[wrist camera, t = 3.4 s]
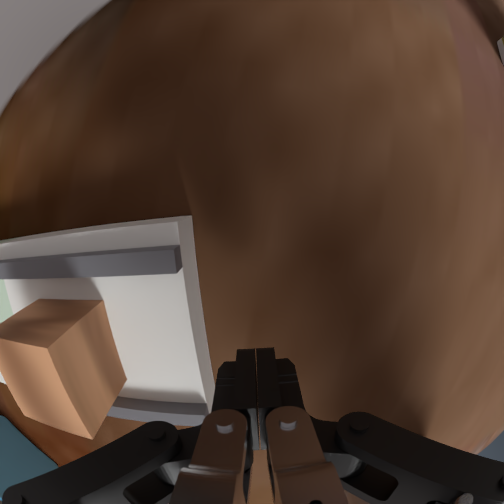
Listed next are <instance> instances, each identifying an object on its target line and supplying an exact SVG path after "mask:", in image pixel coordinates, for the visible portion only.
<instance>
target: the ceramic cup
mask: <svg viewBox="0 0 504 504" xmlns="http://www.w3.org/2000/svg"><path fill="white" fill-rule="evenodd" d="M497 45H498V49H499V52H500V56H501V60H502V63H503V65H504V36H503V37H502V38H501V39H500V40H498V42H497Z"/></svg>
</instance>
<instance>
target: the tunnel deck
mask: <svg viewBox="0 0 504 504" xmlns="http://www.w3.org/2000/svg"><path fill="white" fill-rule="evenodd" d="M38 299H68V300H104V304H105V308H106V312H107V316H108V320H109V324H110V327H111V331H112V334H113V338H114V341H115V345H116V348H117V351H118V354H119V357H120V360H121V363H122V366H123V369H124V372H125V375H126V378H127V381H126V382H125V384H124V386H123V388H122V389H121V391H120V393H119V394H118V396H117V398H116V399H115V401H114V403H113V405H112V406H111V408H110V410H109V412H108V413H107V416H112V417H117V418H123V419H129V420H136V421H143V422H151V421H165V422H168V423H171V424H172V425H183V426H198V425H200V424H202V423H203V420H204V418H205V417H206V416H207V415H208V414H210V413H211V409H212V403H213V397H214V391H215V384H214V378H213V372H212V367H211V361H210V355H209V349H208V343H207V336H206V330H205V323H204V316H203V309H202V302H201V294H200V286H199V278H198V270H197V261H196V252H195V243H194V233H193V223H192V215H190V216H179V217H168V218H158V219H149V220H139V221H131V222H122V223H114V224H105V225H98V226H90V227H83V228H75V229H68V230H62V231H55V232H48V233H42V234H36V235H30V236H24V237H18V238H12V239H7V240H1V241H0V323H2V322H3V321H5V320H6V319H8V318H9V317H11V316H12V315H14V314H15V313H17V312H19V311H20V310H22V309H23V308H25V307H26V306H28V305H30V304H31V303H33V302H35V301H36V300H38ZM0 382H2V383H4V384H6V382H5V380H4V378H3V376H2V374H1V372H0Z"/></svg>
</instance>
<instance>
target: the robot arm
mask: <svg viewBox="0 0 504 504" xmlns="http://www.w3.org/2000/svg"><path fill="white" fill-rule="evenodd" d="M256 356H257V374H256V359H255V349H237V355H236V361H230V362H224V363H223V364H222V365H221V367H220V368H219V369H218V374H217V379H216V386H215V391H214V397H213V403H212V409H211V413H210V414H208V415H207V416H206V417H205V418H204V420H203V423H202V424H200V425H198V426H195V427H192V428H186V429H181V430H177V429H176V427H175V426H174V425H172V424H171V423H168V422H165V421H151V422H148V423H146V424H144V425H142V426H140V427H138V428H137V429H135V430H133V431H131V432H130V433H128V434H126V435H124V436H122V437H120V438H119V439H117V440H115V441H113V442H111V443H109V444H107V445H105V446H103V447H101V448H99V449H97V450H95V451H93V452H91V453H89V454H87V455H85V456H83V457H81V458H79V459H77V460H75V461H72V462H70V463H68V464H66V465H63V466H61V467H59V468H57V469H54V470H52V471H49V472H47V473H45V474H42V475H40V476H37V477H34V478H32V479H29V480H27V481H24V482H21V483H18V484H15V485H12V486H10V487H8V488H7V489H6V490H5V491H4V493H3V496H2V504H168V503H169V504H249V496H250V487H251V477H252V464H253V450H259V426H260V440H261V450H264V449H267V463H268V472H269V478H270V484H271V490H272V496H273V502H274V504H504V462H500V461H496V460H492V459H489V458H485V457H482V456H478V455H475V454H472V453H469V452H465V451H462V450H459V449H456V448H453V447H450V446H447V445H445V444H442V443H439V442H436V441H434V440H431V439H428V438H426V437H423V436H421V435H418V434H416V433H413V432H411V431H408V430H406V429H403V428H401V427H399V426H396V425H394V424H392V423H389V422H387V421H385V420H383V419H380V418H378V417H376V416H374V415H372V414H369V413H365V412H353V413H349V414H347V415H345V416H343V417H342V418H341V419H340V420H339V421H338V422H330V421H322V420H318V419H315V418H313V417H312V416H310V415H309V414H308V413H307V412H306V410H305V408H304V404H303V400H302V395H301V391H300V387H299V382H298V378H297V375H296V370H295V365H294V364H293V363H292V362H291V361H290V360H289V359H288V358H284V359H275V352H274V347H273V348H257V349H256ZM257 386H258V392H257ZM258 412H259V423H258Z"/></svg>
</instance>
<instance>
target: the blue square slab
mask: <svg viewBox="0 0 504 504" xmlns="http://www.w3.org/2000/svg"><path fill="white" fill-rule="evenodd" d="M57 468H59V467H58V466H57V464H56V463H55V462H54V461H52V460H51V459H50V458H49V457H47V456H46V455H45V454H44V453H43V452H41V451H40V450H39V449H38V448H37V447H36V446H35V445H33V444H32V443H31V442H30V441H29V440H28V439H27V438H26V437H25V436H24V435H23V434H22V433H21V432H20V431H19V430H18V429H17V428H16V427H15V426H14V425H13V424H12V423H11V422H10V421H9V420H8V419H7V418H5V417H4V416H1V415H0V500H1V501H2V496H3V493H4V491H5V490H6V489H7V488H8V487H10V486H12V485H15V484H18V483H21V482H24V481H27V480H29V479H32V478H34V477H37V476H40V475H42V474H45V473H47V472H49V471H52V470H54V469H57Z"/></svg>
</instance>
